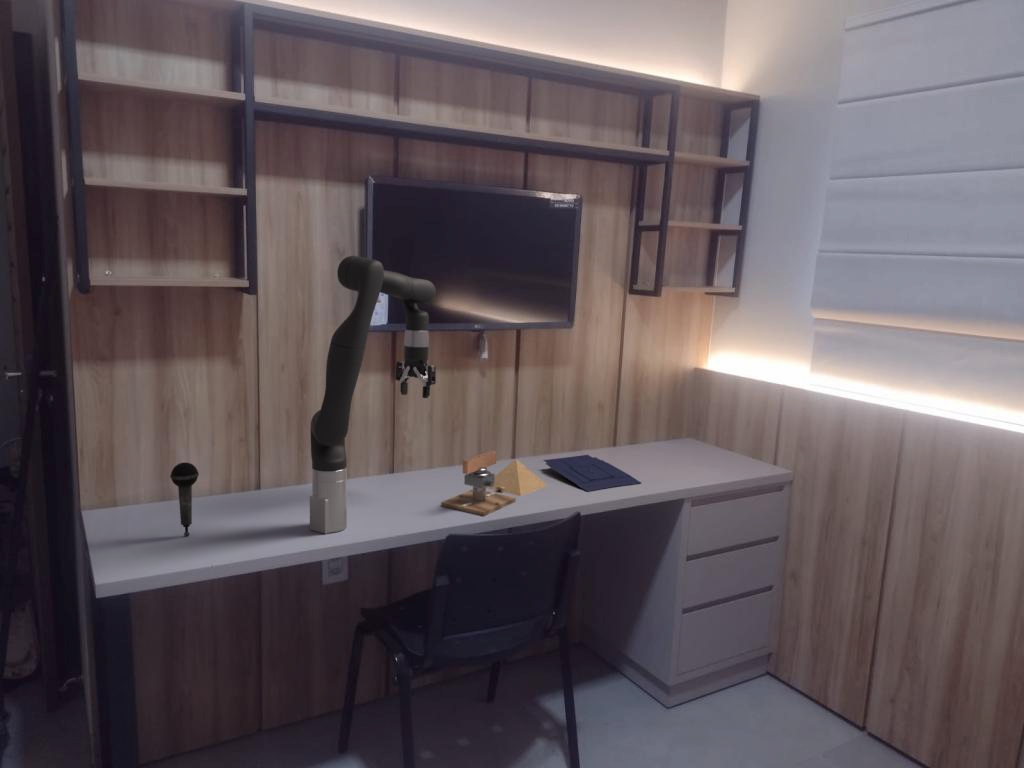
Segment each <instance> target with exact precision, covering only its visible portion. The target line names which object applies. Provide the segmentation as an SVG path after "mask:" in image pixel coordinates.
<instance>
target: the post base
mask: <svg viewBox="0 0 1024 768" xmlns="http://www.w3.org/2000/svg"><path fill="white" fill-rule="evenodd" d="M486 490H487V488H486V487H484V488H479V487H475V486H472V489H471V490H468V491H466V492H463V493H461V494H458V495H456V496H453V497H450V498H449V499H448V498H447V499H446V500H443V501H441V502H440V506H441V507H443V508H448V509H451V510H452V509H454V510H457V511H461V512H466V513H470V514H473V515H480V516H483V517H485V516H487V515H489V514H491V513H494V512H496V511H499V510H500V509H502V508H504V507H506V506H509V505H512V504H513V503H515V502H516V501H517V497H514V496H509V495H505V494H501V493H500V494H499V493H495V492H490V491H486Z"/></svg>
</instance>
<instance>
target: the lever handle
mask: <svg viewBox="0 0 1024 768" xmlns="http://www.w3.org/2000/svg"><path fill="white" fill-rule="evenodd" d="M495 464H497V451H496V450H488V451H486V452H484V453H480V454H478V455H475V456H471V457H469V458H466V459H462V474H464V485H466V486H471V487H473V486H475V487H479V488H484V487H486V486H488V487H493V486H494V477H495V476H496V475H495V473H493V472H491V471H489V470H488V467H491V466H493V465H495Z"/></svg>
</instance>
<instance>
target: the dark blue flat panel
mask: <svg viewBox="0 0 1024 768" xmlns="http://www.w3.org/2000/svg"><path fill="white" fill-rule="evenodd" d="M543 462H545V465H546V466H548V467H549V468H550V469H551V470H553V471H555V472H557V473H558V474H560V475H562V477H564V478H566V479H568V480H569V481H571V482H572V483H574V484H575V485H576V486H578V487H579V488H581V489H583V490H584V491H586V492H592V491H596V490H603V489H608V488H615V487H621V486H629V485H636V484H642V482H641V481H639V480H637V479H636V478H635V477H634V476H632V475H630V474H629V473H627V472H625V471H623V470H621V468H617V467H616V466H614V465H613V464H611V463H609V462H606V461H604V460H603V459H599V458H597V457H592V456H591V455H589V454H582V455H576V456H575V455H573V456H569V457H560V458H559V457H557V458H550V459H543Z"/></svg>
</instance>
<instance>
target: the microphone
mask: <svg viewBox="0 0 1024 768" xmlns="http://www.w3.org/2000/svg"><path fill="white" fill-rule="evenodd" d="M199 475H200V473H199V471H198V468H197V467H196V466H195V465H194V464H193V463H190V462H180V463H178V464H176V465H175V466H174V467H173V468H172V470H171V473H170V476H169V477H170V479H171V481H172V483H173V484H174V485H175V486H177V487H178V489H177V490H178V501H179V504H178V505H179V513H180V516H179V517H180V525H181V526H182V527H184V532H183V535H184V537H189V536H190V531H189V527H190V526H191V525H192V523H193V522H192V518H193V516H192V515H193V514H192V513H193V509H192V508H193V507H192V506H193V504H192V503H193V489H192V487H193V485H194V484H195V483H196V482H197V480H198V478H199Z"/></svg>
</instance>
